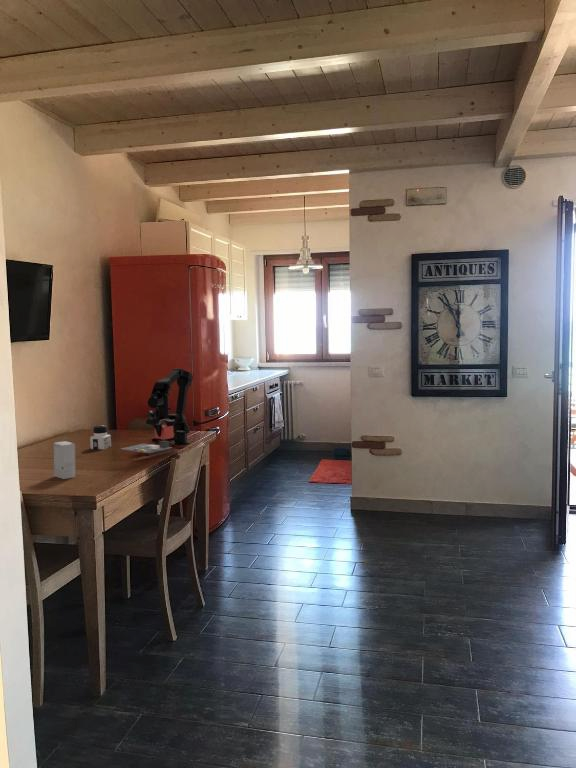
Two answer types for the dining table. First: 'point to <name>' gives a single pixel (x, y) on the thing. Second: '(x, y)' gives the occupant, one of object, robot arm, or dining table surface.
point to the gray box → (164, 444)
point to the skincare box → (64, 460)
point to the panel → (148, 449)
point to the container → (100, 438)
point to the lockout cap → (165, 432)
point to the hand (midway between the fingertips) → (164, 435)
